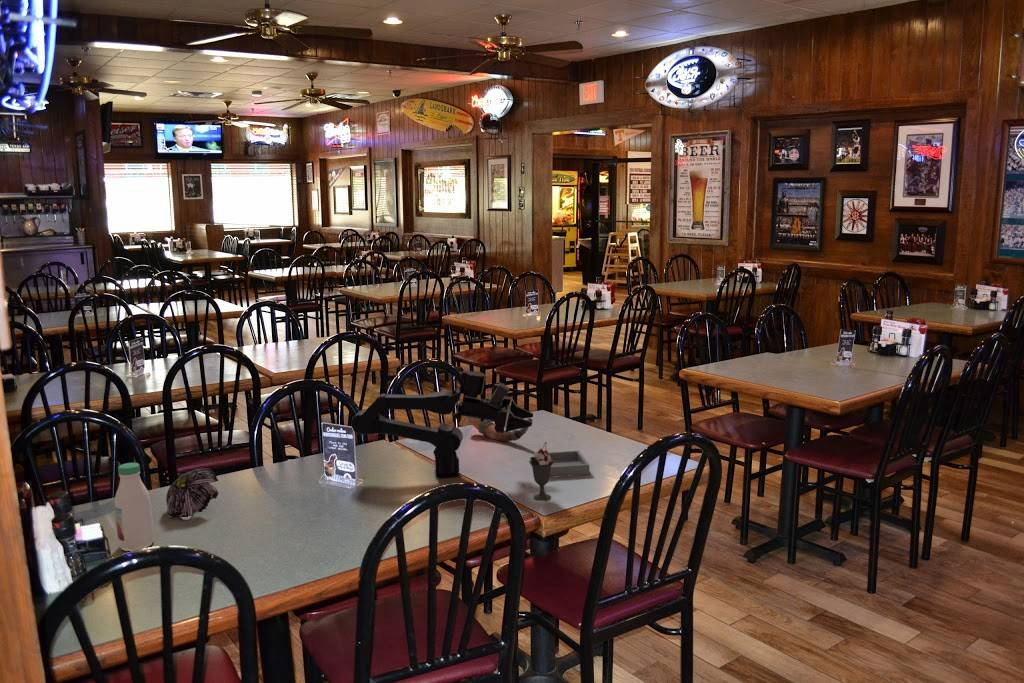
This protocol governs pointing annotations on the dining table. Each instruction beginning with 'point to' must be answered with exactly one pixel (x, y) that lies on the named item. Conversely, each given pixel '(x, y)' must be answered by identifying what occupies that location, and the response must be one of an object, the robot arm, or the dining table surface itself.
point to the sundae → (541, 471)
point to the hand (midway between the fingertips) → (532, 419)
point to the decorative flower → (191, 492)
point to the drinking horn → (488, 430)
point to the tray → (568, 463)
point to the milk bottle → (133, 509)
